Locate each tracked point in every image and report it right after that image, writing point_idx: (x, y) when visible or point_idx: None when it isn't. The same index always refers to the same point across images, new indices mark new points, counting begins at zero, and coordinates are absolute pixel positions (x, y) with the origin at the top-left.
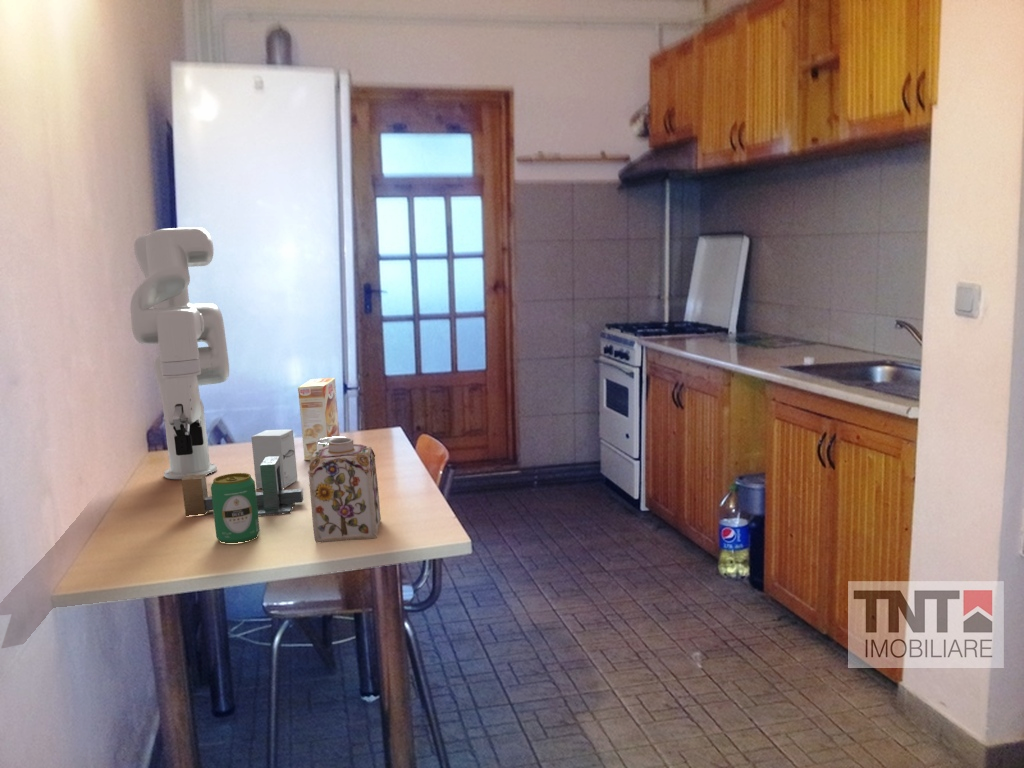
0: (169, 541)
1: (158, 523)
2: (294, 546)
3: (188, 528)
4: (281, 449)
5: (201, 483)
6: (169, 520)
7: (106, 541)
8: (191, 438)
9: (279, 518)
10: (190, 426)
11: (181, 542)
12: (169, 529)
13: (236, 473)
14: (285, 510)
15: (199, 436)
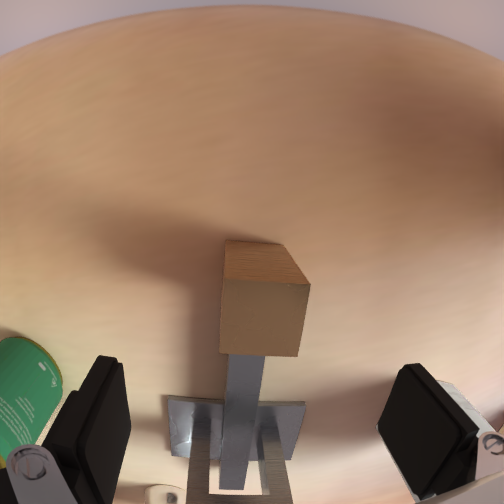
0: (29, 232)
1: (191, 166)
2: None
3: (111, 263)
4: (409, 490)
5: (219, 342)
6: (211, 194)
7: (80, 67)
8: (413, 411)
9: (142, 436)
10: (455, 464)
11: (19, 262)
12: (118, 212)
13: (2, 466)
14: (174, 450)
15: (397, 452)
